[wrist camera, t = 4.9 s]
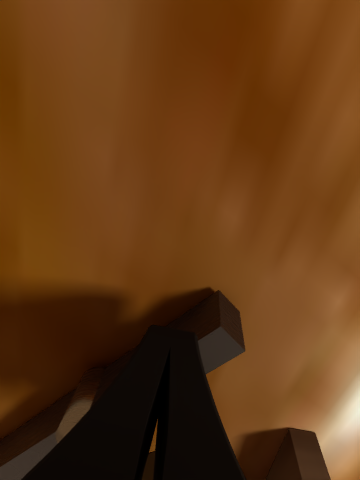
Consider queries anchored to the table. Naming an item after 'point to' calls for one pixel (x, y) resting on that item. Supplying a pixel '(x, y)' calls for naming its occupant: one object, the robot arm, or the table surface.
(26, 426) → the bar
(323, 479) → the rail
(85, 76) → the table surface
